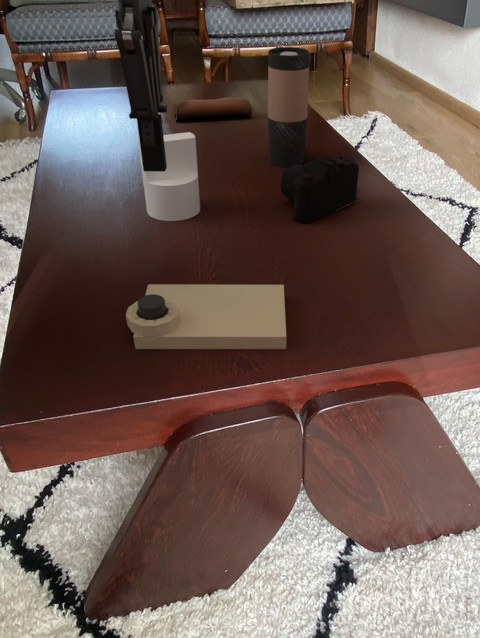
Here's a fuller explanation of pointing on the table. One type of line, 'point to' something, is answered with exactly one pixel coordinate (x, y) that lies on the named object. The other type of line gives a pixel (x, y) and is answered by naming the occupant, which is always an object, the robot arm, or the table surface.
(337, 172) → the film camera
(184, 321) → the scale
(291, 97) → the travel mug
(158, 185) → the base with upright slab
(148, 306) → the button
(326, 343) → the table surface
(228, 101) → the sunglasses case
